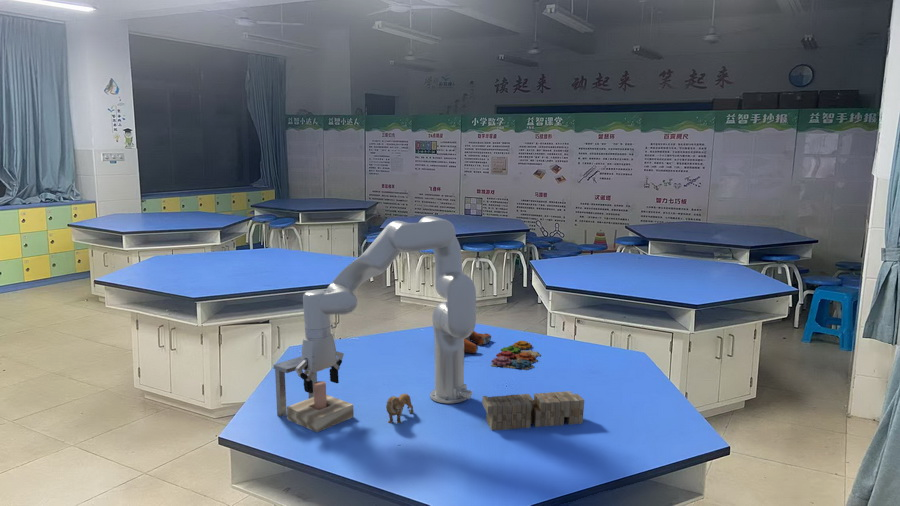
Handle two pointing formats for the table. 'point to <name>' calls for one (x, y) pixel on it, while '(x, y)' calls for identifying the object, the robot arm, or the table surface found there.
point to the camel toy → (477, 339)
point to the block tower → (533, 410)
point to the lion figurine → (398, 406)
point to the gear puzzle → (516, 356)
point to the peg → (320, 395)
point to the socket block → (320, 413)
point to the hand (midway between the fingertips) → (321, 387)
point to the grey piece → (280, 382)
